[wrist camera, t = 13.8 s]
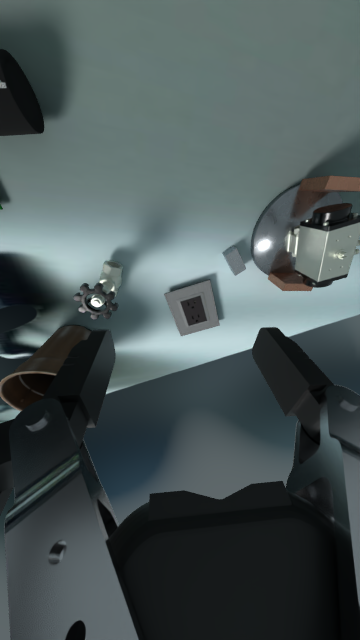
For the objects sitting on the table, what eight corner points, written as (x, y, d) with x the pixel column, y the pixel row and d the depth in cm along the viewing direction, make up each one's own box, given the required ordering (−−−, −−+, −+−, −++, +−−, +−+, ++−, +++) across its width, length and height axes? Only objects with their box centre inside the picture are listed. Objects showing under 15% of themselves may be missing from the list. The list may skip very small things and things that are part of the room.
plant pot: (121, 355, 51) (106, 410, 38) (71, 368, 53) (40, 425, 40) (91, 310, 42) (58, 362, 29) (31, 327, 43) (-27, 384, 30)
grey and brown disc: (266, 177, 30) (293, 173, 24) (356, 183, 31) (403, 180, 25) (241, 276, 40) (255, 290, 34) (310, 277, 42) (336, 291, 35)
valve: (132, 266, 37) (121, 291, 27) (125, 293, 40) (113, 324, 30) (99, 255, 35) (74, 278, 25) (95, 284, 38) (72, 314, 29)
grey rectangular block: (221, 252, 37) (225, 256, 35) (232, 245, 36) (236, 248, 34) (231, 271, 39) (235, 275, 37) (241, 264, 39) (246, 268, 37)
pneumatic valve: (280, 270, 38) (320, 295, 29) (284, 209, 32) (338, 215, 22) (306, 263, 38) (356, 286, 28) (316, 199, 31) (385, 201, 21)
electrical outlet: (217, 320, 47) (219, 326, 45) (180, 331, 48) (181, 337, 47) (207, 276, 40) (210, 280, 38) (164, 290, 41) (164, 295, 39)
